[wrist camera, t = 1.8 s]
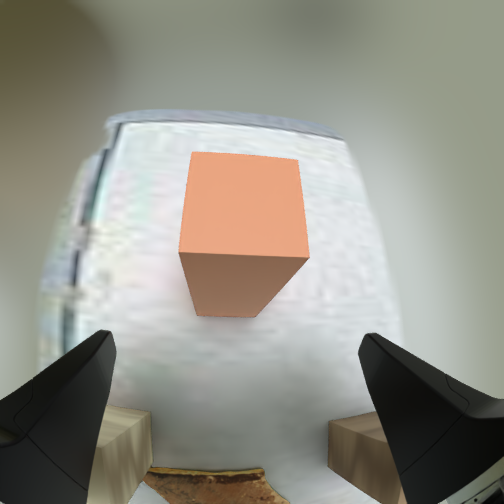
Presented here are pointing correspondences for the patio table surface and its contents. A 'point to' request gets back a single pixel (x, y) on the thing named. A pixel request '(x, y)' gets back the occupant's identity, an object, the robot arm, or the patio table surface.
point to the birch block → (120, 455)
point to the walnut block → (364, 457)
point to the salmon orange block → (241, 231)
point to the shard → (212, 487)
